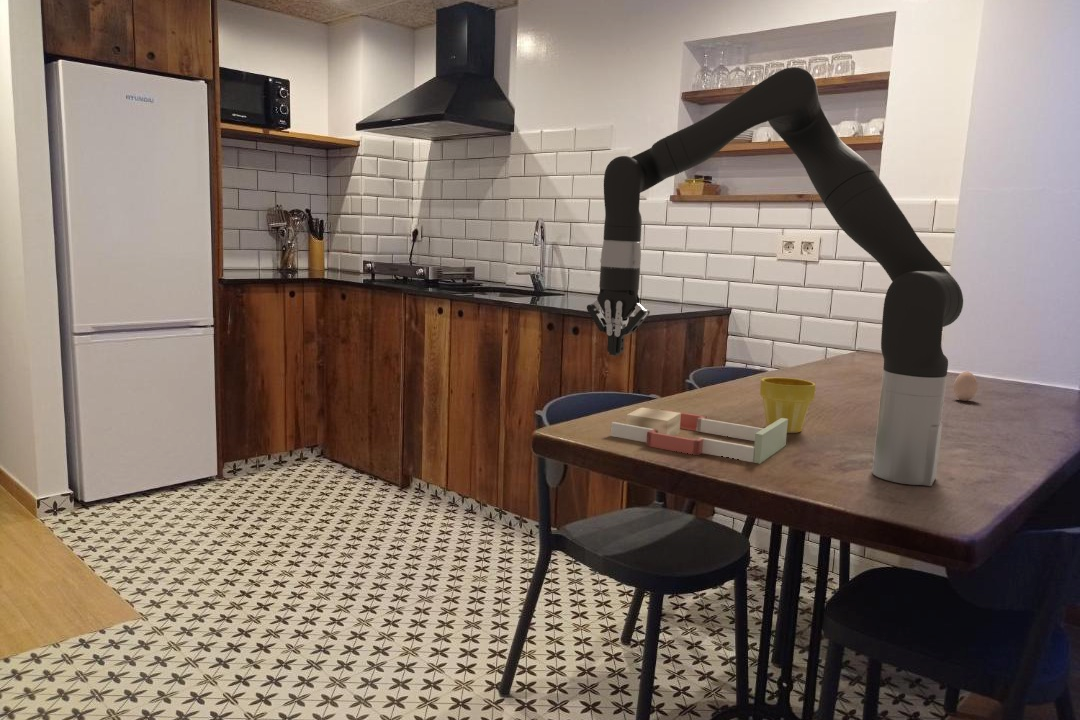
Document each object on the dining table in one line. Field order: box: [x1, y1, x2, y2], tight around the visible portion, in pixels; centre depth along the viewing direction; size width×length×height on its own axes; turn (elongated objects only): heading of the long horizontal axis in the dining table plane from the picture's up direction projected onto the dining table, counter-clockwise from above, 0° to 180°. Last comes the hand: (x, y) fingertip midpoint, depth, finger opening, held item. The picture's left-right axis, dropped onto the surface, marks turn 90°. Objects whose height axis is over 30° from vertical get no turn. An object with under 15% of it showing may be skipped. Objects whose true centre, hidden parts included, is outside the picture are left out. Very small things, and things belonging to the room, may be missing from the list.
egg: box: [952, 371, 979, 402], centre depth 202 cm, size 5×5×7 cm
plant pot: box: [759, 376, 816, 434], centre depth 161 cm, size 10×10×10 cm
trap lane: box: [610, 408, 788, 465], centre depth 149 cm, size 28×20×5 cm
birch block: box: [625, 407, 681, 436], centre depth 154 cm, size 8×8×4 cm
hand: (614, 354), depth 157 cm, fingers closed
